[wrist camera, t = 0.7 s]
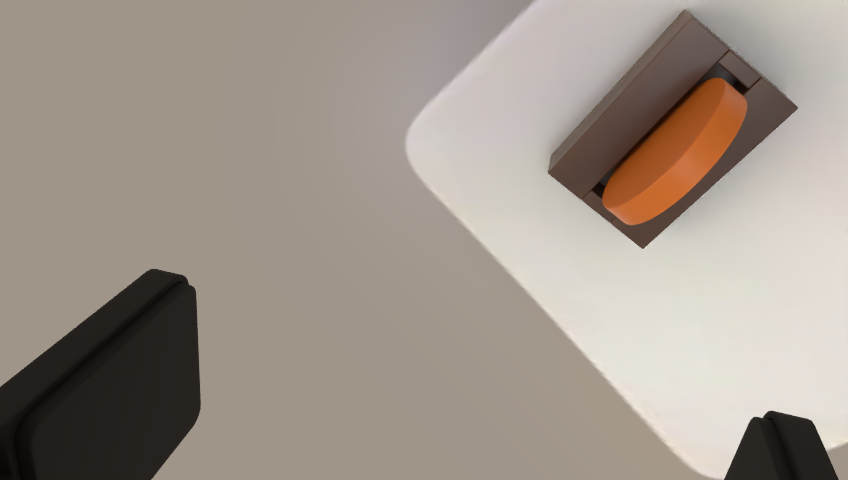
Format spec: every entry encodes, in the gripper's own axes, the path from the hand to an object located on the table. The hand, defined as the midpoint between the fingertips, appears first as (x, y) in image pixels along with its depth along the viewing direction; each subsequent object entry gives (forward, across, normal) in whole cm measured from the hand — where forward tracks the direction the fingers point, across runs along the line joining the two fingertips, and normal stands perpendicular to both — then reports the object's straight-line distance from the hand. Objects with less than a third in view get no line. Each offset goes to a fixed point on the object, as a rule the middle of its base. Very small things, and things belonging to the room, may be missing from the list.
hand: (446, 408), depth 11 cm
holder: (+24, -6, +1) cm, 25 cm away
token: (+24, -6, +1) cm, 25 cm away
